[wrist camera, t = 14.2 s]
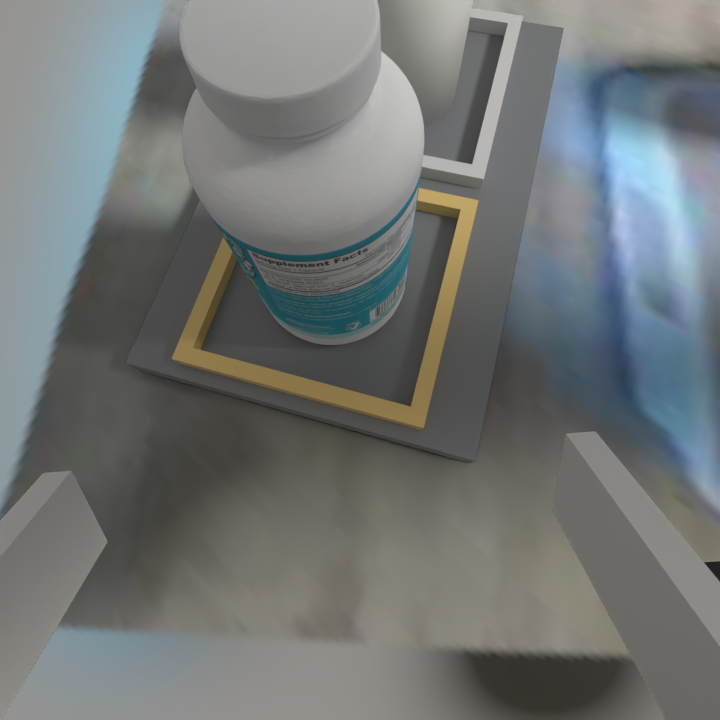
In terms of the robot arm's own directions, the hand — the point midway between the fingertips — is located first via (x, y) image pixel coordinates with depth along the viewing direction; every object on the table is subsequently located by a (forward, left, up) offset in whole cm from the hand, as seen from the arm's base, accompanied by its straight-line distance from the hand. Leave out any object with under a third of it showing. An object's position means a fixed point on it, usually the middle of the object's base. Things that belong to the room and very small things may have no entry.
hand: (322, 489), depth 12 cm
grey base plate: (+4, -17, -10) cm, 20 cm away
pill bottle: (+4, -10, -8) cm, 13 cm away
